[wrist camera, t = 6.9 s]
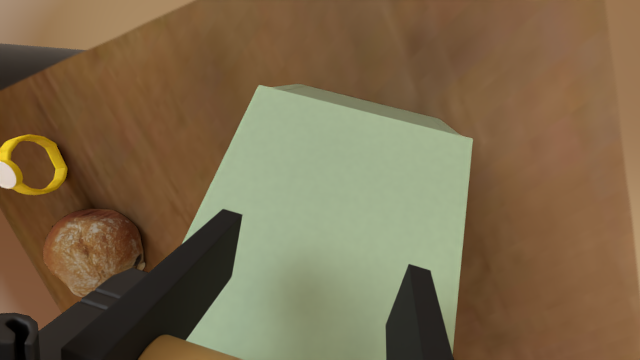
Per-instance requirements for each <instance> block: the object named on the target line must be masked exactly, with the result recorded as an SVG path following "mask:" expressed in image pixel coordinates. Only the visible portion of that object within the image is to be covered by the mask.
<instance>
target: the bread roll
mask: <svg viewBox="0 0 640 360" xmlns="http://www.w3.org/2000/svg"><path fill="white" fill-rule="evenodd" d="M45 239H46V243H45V246H44V250H43V257H44V263H45V265H47V267H48V268H49V270H50V272H51V274H52V275H54V276H55V277H58V278H60V279H61V280H62V281H63V282H64V283H65V284H66V285H67V286H68V287H69V289H70V290H71V291H72V292H73V294H74V295H77V296H81V297H85V296H86V295H87V294H89V293H90V292H91V291H95V289H96V288H97V287H98V286H99V285H101V284H102V283H103V282H105V281H106V280H107V279H108V278H110V277H111V276H113V275H115V274H118V273H120V272H123V271H125V270H128V269H130V268H135V269H138V270H141V271H142V270H143V269H144V267H145V262H144V260H143V247H142V243H141V236H140V234H139V231H138V229H137V227H136V226H135V225H134V224H133V223H132V222H131V221H130V220H129V219H127V218H126V217H125V216H123V215H122V214H120V213H118V212H116V211H114V210H109V209H85V210H81V211H75V212H73V213H71V214H69V215H66V216H64V217H63V218H62V219H60V221H58V222H57V223H56V224H55V225H54V226H52V230H51V231H50V233H49V234H48V235H47V237H46V238H45Z"/></svg>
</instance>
